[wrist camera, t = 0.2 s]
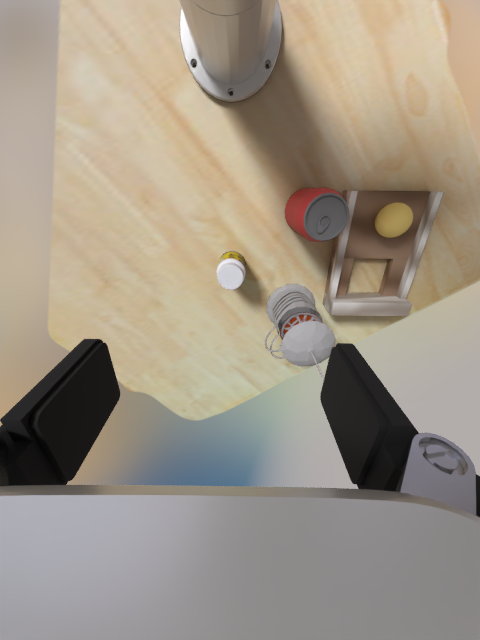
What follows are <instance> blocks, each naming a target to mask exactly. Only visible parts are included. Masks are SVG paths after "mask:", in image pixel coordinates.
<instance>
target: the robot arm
mask: <svg viewBox="0 0 480 640" xmlns="http://www.w3.org/2000/svg"><path fill="white" fill-rule="evenodd" d="M180 3H181V12H180V38H181V45H182V49H183V53H184V56H185V60H186V62H187V65H188V67H189V69H190V71H191V73H192V75H193V77H194V78H195V80H196V81H197V82H198V84H199V85H200V86H201V87H202V88H203V89H204V90H205V91H206V92H207V93H208V94H210V95H212V96H213V97H215V98H217V99H220V100H223V101H229V102H235V101H241V100H244V99H246V98H249V97H251V96H252V95H253V94H255V93H256V92H257V91H259V89H260V88H261V87H262V86H263V85H264V84H265V83H266V81H267V80H268V78H269V76H270V75H271V73H272V71H273V68H274V66H275V64H276V60H277V57H278V54H279V49H280V44H281V33H282V22H281V11H280V7H279V2H278V0H180ZM194 64H196V65H197V66H196V68H194V67H193V65H194ZM266 65H268V66H269V69H266V67H265V66H266ZM230 92H232V93H233V95H232V96H230V95H229V93H230ZM119 397H120V390H119V386H118V382H117V379H116V375H115V372H114V368H113V365H112V361H111V357H110V354H109V350H108V347H107V344H106V343H103V341H102V340H100V339H84V340H83V341H82V342H81V343H80V344H78V345H77V346H76V347H75V348H74V349H73V350H72V351H71V352H70V353H69V354H68V355H67V356H66V357H65V358H64V359H63V360H62V361H61V362H60V363H59V364H58V365H57V366H56V367H55V368H54V369H52V371H51V372H49V373H48V374H47V375H46V376H45V377H44V378H43V379H42V380H41V381H40V382H39V383H38V384H37V385H36V386H35V387H34V388H33V389H32V390H31V391H30V392H29V393H28V394H26V395H25V396H24V397H23V398H22V399H21V400H20V401H19V402H18V403H17V404H16V405H15V406H14V407H13V408H12V409H11V410H10V411H9V412H8V413H7V414H6V415H5V416H4V417H2V418H1V420H0V421H1V422H2V424H3V425H2V426H1V427H0V640H480V476H478V475H476V472H475V468H474V465H473V463H472V461H471V460H470V458H469V457H468V456H467V455H466V453H464V451H463V450H462V449H460V448H459V447H458V446H456V445H455V444H454V443H453V442H451V441H449V440H447V439H446V438H444V437H441V436H438V435H436V434H431V433H418V431H417V430H416V429H415V428H414V426H413V425H412V423H411V422H410V421H409V419H408V418H407V417H406V415H405V414H404V413H403V411H402V410H401V408H400V407H399V406H398V404H397V403H396V402H395V400H394V399H393V397H392V396H391V395H390V394H389V392H388V391H387V389H386V388H385V387H384V385H383V384H382V382H381V381H380V380H379V379H378V377H377V376H376V374H375V373H374V372H373V370H372V369H371V368H370V366H369V365H368V364H367V362H366V361H365V359H364V358H363V357H362V356H361V354H360V353H359V351H358V350H357V349H356V347H355V346H354V345H353V344H344V343H338V344H337V345H336V347H332V349H331V353H330V358H329V362H328V366H327V370H326V374H325V378H324V383H323V387H322V391H321V403H322V406H323V408H324V411H325V414H326V416H327V419H328V422H329V424H330V427H331V429H332V432H333V435H334V437H335V440H336V443H337V445H338V448H339V450H340V453H341V456H342V458H343V461H344V463H345V466H346V469H347V471H348V474H349V476H350V479H351V481H352V483H353V484H357V486H358V488H359V489H337V488H299V487H295V488H294V487H239V486H238V487H237V486H149V485H148V486H147V485H144V486H143V485H142V486H141V485H66V484H67V482H68V481H70V480H72V479H73V478H74V476H75V475H76V473H77V471H78V470H79V468H80V466H81V464H82V463H83V461H84V459H85V458H86V456H87V454H88V452H89V451H90V449H91V447H92V445H93V444H94V442H95V440H96V438H97V437H98V435H99V433H100V432H101V430H102V428H103V426H104V425H105V423H106V421H107V419H108V418H109V416H110V414H111V412H112V411H113V409H114V407H115V405H116V404H117V402H118V400H119Z"/></svg>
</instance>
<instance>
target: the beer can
mask: <svg viewBox="0 0 480 640" xmlns="http://www.w3.org/2000/svg"><path fill="white" fill-rule="evenodd" d="M285 218H286V221H287V223H288V225H289V226H290V227H291V228H292V229H293V230H295V231H296V232H297V233H299V234H300V235H301V236H303V237H304V238H306V239H308V240H310V241H314V242H322V241H327V240H331V239H333V238H335V237H337V236H338V235H339V234H340V233H341V232H342V231H343V229H344V228H345V226H346V224H347V221H348V218H349V208H348V205H347V202H346V201H345V200H344V198H343V197H342V196H341V194H340V193H338V192H337V191H335V190H333V189H329V188H305V189H300V190H299V191H297V192H295V193H294V194H293V195H292V196H291V197H290V198H289V200H288V202H287V204H286V208H285Z"/></svg>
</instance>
